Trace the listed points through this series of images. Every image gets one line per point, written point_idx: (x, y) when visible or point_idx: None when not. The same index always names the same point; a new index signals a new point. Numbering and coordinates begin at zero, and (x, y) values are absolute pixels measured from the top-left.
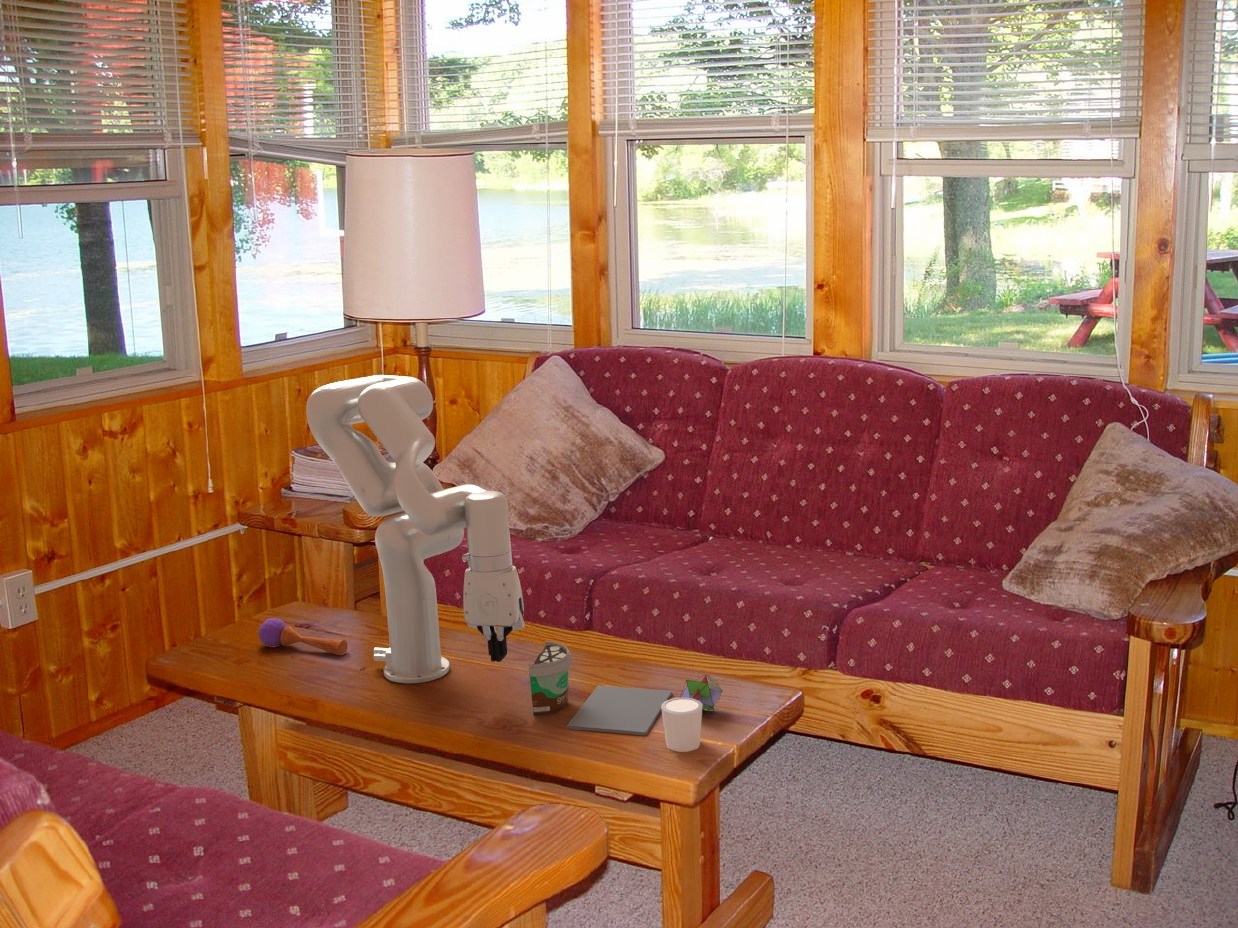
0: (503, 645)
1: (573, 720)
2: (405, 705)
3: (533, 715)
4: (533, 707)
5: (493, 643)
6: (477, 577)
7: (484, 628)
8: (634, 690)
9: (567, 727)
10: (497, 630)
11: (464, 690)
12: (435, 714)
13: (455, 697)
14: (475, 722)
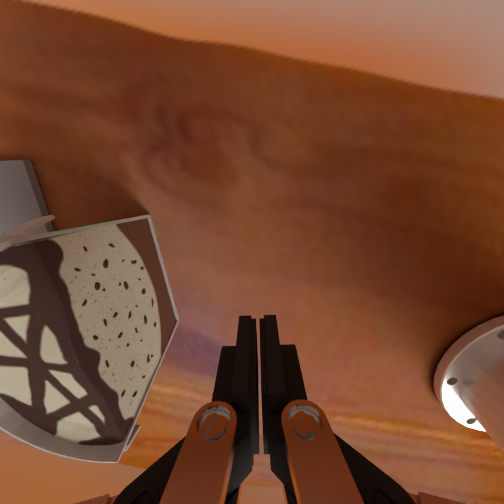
0: (215, 385)
1: (28, 193)
2: (501, 195)
3: (149, 214)
4: (137, 216)
5: (261, 381)
6: None
7: (343, 502)
8: None
9: (27, 160)
10: (219, 486)
11: (367, 306)
12: (400, 158)
13: (377, 268)
14: (271, 135)
